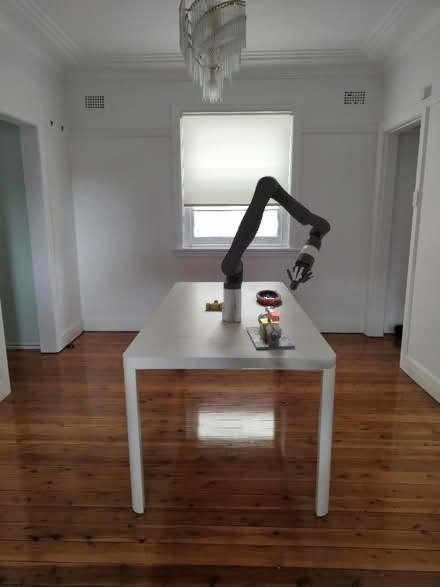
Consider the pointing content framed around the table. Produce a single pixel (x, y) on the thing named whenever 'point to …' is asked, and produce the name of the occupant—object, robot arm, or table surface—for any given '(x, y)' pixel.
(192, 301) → the table surface
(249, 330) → the valve body
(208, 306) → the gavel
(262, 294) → the dish
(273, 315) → the valve lever
